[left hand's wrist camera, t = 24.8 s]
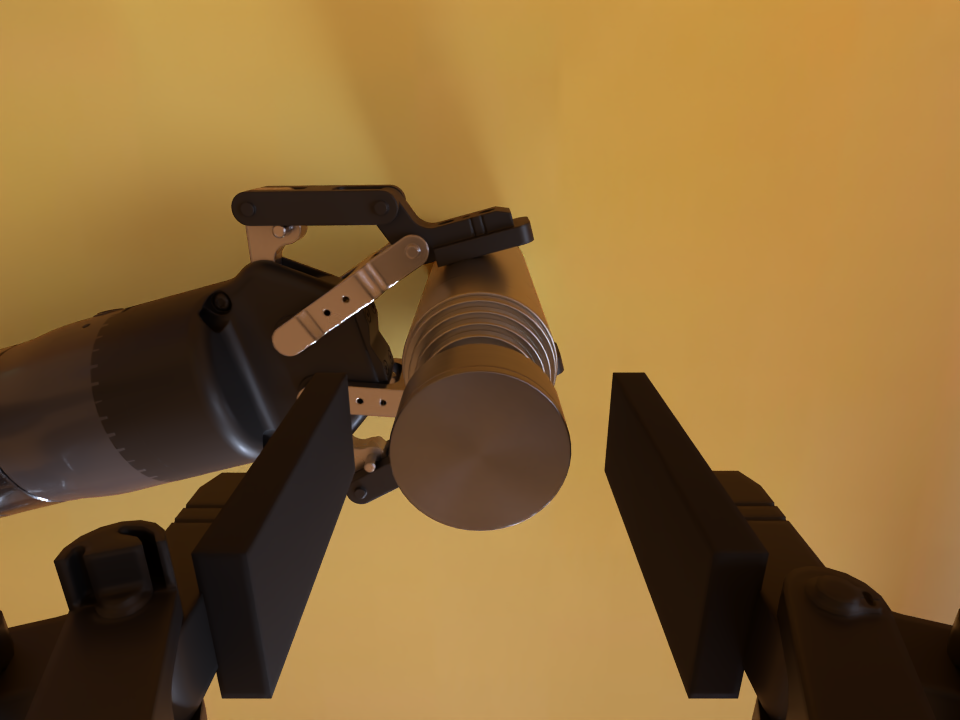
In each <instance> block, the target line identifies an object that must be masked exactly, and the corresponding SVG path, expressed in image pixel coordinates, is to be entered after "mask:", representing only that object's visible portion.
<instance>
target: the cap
mask: <svg viewBox="0 0 960 720" xmlns="http://www.w3.org/2000/svg"><path fill="white" fill-rule="evenodd" d="M570 459H571V441H570V435H569V431H568V428H567V424H566V421H565V418H564V414H563V411H562V408H561V404H560V401H559V398H558V395H557V392H556V390H555V388H554V386H553V384H552V382H551V380H550V379H549V377H548V376H547V375H546V373H545V372H544V371H543V370H542V369H541V368H540V367H539V366H538V365H537V364H536V363H534V362H533V361H532V360H531V359H529V358H528V357H526V356H524V355H523V354H521V353H519V352H517V351H514V350H512V349H509V348H506V347H503V346H498V345H493V344H467V345H462V346H457V347H454V348H451V349H448V350H445V351H443V352H441V353H439V354H437V355H435V356H434V357H432V358H431V359H429V360H428V361H427V362H425V363H424V364H423V365H422V366H421V367H420V368H419V369H418V370H417V371H416V372H415V373H414V374H413V376H412V377H411V379H410V380H409V382H408V383H407V385H406V387H405V389H404V391H403V394H402V397H401V401H400V404H399V407H398V411H397V414H396V417H395V421H394V424H393V428H392V431H391V434H390V441H389V460H390V466H391V470H392V473H393V476H394V478H395V480H396V483H397V485H398V486H399V488H400V490H401V491H402V493H403V494H404V495H405V497H406V498H407V499H408V500H409V501H410V503H412V504H413V505H414V506H415V507H416V508H417V509H418V510H419V511H421V512H422V513H424V514H425V515H426V516H428V517H430V518H432V519H434V520H435V521H437V522H440V523H442V524H445V525H447V526H451V527H455V528H458V529H464V530H474V531H486V530H495V529H501V528H505V527H509V526H512V525H515V524H518V523H520V522H522V521H524V520H526V519H528V518H530V517H532V516H533V515H535V514H536V513H538V512H539V511H540V510H542V509H543V508H544V507H545V506H546V505H547V504H548V503H549V502H550V501H551V500H552V499H553V498H554V496H555V495H556V494H557V493H558V491H559V489H560V488H561V486H562V485H563V482H564V480H565V478H566V476H567V473H568V469H569V466H570Z"/></svg>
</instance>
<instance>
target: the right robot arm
mask: <svg viewBox="0 0 960 720" xmlns="http://www.w3.org/2000/svg"><path fill="white" fill-rule="evenodd" d="M231 208H232V213H233V215H234V217H235V218H236V219H237V220H238V221H239V222H240V223H242V224H243V225H246V232H247V239H248V245H249V252H250V259H251V263H250V264H248V265H246V266H245V267H244V268H243V269H242V270H241V271H240V273H239V274H238V275H237V276H236V277H235V278H233V279H230V280H227V281H224V282H220V283H216V284H213V285H209V286H206V287H202V288H198V289H195V290H191V291H187V292H184V293H180V294H176V295H173V296H169V297H165V298H162V299H158V300H155V301H151V302H147V303H144V304H140V305H136V306H133V307H129V308H125V309H123V308H121V309H113V310H108V311H104V312H101V313H98V314H97V315H95V316H94V317H93V318H89V319H86V320H82V321H79V322H75V323H72V324H69V325H66V326H63V327H60V328H57V329H55V330H53V331H50V332H48V333H46V334H44V335H42V336H40V337H37V338H35V339H33V340H30V341H28V342H25V343H22V344H19V345H14V346H11V347H7V348H3V349H0V518H2V517H6V516H10V515H13V514H17V513H21V512H24V511H29V510H33V509H37V508H41V507H45V506H49V505H53V504H57V503H61V502H65V501H70V500H76V499H81V498H92V497H102V496H111V495H119V494H124V493H129V492H133V491H137V490H141V489H145V488H149V487H153V486H157V485H161V484H165V483H169V482H173V481H178V480H182V479H187V478H191V477H195V476H199V475H203V474H207V473H211V472H215V471H219V470H223V469H227V468H232V467H236V466H240V465H244V464H248V463H252V462H254V461H255V460H256V458H257V457H258V455H259V454H260V452H261V451H262V450H263V448H264V447H265V445H266V444H267V442H268V441H269V439H270V438H271V436H272V435H273V434H274V432H275V431H276V429H277V428H278V426H279V425H280V423H281V422H282V420H283V419H284V418H285V416H286V415H287V413H288V412H289V410H290V409H291V407H292V406H293V405H294V403H295V402H296V400H297V399H298V397H299V396H300V394H301V393H302V391H303V390H304V389H305V387H306V386H307V384H308V383H309V381H310V380H311V378H312V377H313V375H314V374H315V373H347V379H348V391H349V402H350V414H351V425H352V434H353V433H354V432H355V431H356V429H357V428H358V427H359V426H360V425H361V423H362V422H363V421H364V420H365V419H366V417H367V416H383V417H396V414H397V411H398V407H399V404H400V401H401V397H402V394H403V391H404V389H405V387H406V386H405V381H404V378H403V371H402V359H401V358H393V356H392V353H391V350H390V347H389V345H388V344H387V342H386V341H385V339H384V338H383V336H382V335H381V333H380V332H379V329H378V314H377V309H376V306H375V304H374V300H375V299H376V298H378V297H379V296H380V295H381V294H382V293H383V292H385V291H386V290H387V289H388V288H390V287H391V286H392V285H394V284H395V283H397V282H398V281H400V280H401V279H403V278H404V277H405V276H407V275H408V274H410V273H411V272H413V271H414V270H415V269H417V268H418V267H420V266H421V265H423V264H427V263H431V262H435V261H436V262H437V265H438V267H442V266H446V265H449V264H453V263H456V262H459V261H462V260H466V259H472V258H475V257H479V256H483V255H487V254H490V253H494V252H498V251H502V250H505V249H509V248H513V247H516V246H520V245H524V244H527V243H529V242H532V241H533V240H534V237H533V233H532V229H531V225H530V221H529V219H528V217H519V218H515V219H512V215H511V212H510V209H509V208H504V207H496V206H495V207H492V208H488V209H484V210H481V211H477V212H473V213H470V214H466V215H463V216H459V217H455V218H452V219H448V220H444V221H441V222H437V223H428V222H425V221H423V220H421V219H420V218H419V217H418V216H417V215H416V214H415V212H414V211H413V210H412V208H411V207H410V206H409V204H408V203H407V201H406V198H405V195H404V193H403V191H402V190H401V189H400V188H398V187H397V186H394V185H324V186H265V187H261V188H256V189H252V190H248V191H245V192H241V193H239V194H237V195H236V196H235V197H234V199H233V201H232V205H231ZM313 225H377V226H378V228H379V229H380V230H381V232H382V233H383V234H384V236H385V237H386V238H387V240H388V241H389V242H390V243H388V244H387V245H385V246H384V247H383V248H381V249H380V250H378V251H377V252H375V253H373V254H372V255H370V256H369V257H367V258H366V259H365V260H363V261H362V262H360V263H359V264H358V265H356V266H355V267H353V268H352V269H351V270H349V271H348V272H346V273H345V274H344V275H342V276H341V277H337V276H334V275H331V274H328V273H326V272H323V271H320V270H317V269H315V268H312V267H309V266H306V265H304V264H301V263H298V262H295V261H293V260H290V259H287V258H284V257H282V250H283V248H284V246H285V245H287V244H292V243H294V242H296V241H297V240H299V239H301V238H302V237H303V236H304V235H305V234H306V232H307V226H313ZM554 343H555V342H554ZM555 346H556V352H557V360H558V368H557V375H559V374H561V373H562V372H563V371H564V368H563V364H562V359H561V355H560V352H559V349H558V346H557V344H556V343H555ZM393 372H394V373H393ZM352 437H353V448H354V460H355V473H354V476H353V479H352V481H351V484H350V487H349V490H348V492H347V496H348V498H349V499H350V500H351V501H353V502H355V503H357V504H365V503H368V502H370V501H372V500H374V499H376V498H378V497H380V496H382V495H384V494H386V493H388V492H390V491H392V490H394V489H396V488H398V487H399V486H398V485H397V483H396V480H395V478H394V476H393V473H392V470H391V466H390V460H389V441H390V440H388V441H385V440H384V439H383V438H382V437H380V436H377V437H371V438H368V439H359V438H356V437H355V436H353V435H352Z"/></svg>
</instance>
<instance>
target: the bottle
mask: <svg viewBox="0 0 960 720" xmlns="http://www.w3.org/2000/svg"><path fill="white" fill-rule="evenodd" d="M467 344H493V345H498V346H503V347H506V348H509V349H512V350H514V351H517V352H519V353H521V354H523V355H524V356H526V357H528V358H529V359H531V360H532V361H533V362H534V363H536V364H537V365H538V366H539V367H540V368H541V369H542V370H543V371H544V372H545V373H546V375H547V376H548V377H549V379H550V380H551V382H552V384H553V386H554V385H555V380H556V376H557V368H558V360H557V352H556V346H555V343H554V340H553V337H552V335H551V332H550V329H549V326H548V323H547V321H546V318H545V315H544V312H543V309H542V307H541V304H540V301H539V298H538V295H537V293H536V290H535V287H534V284H533V281H532V279H531V276H530V273H529V270H528V267H527V265H526V262H525V259H524V256H523V254H522V252H521V251H520V249H519V248H518V246H516V247H513V248H509V249H505V250H502V251H498V252H494V253H490V254H487V255H483V256H479V257H475V258H472V259H466V260H462V261H459V262H456V263H453V264H449V265H446V266H442V267H438V265H437V262H436V261H435V262H434V264H433V266H432V269H431V272H430V275H429V278H428V280H427V283H426V286H425V289H424V292H423V295H422V297H421V300H420V303H419V306H418V309H417V311H416V314H415V317H414V320H413V323H412V325H411V328H410V331H409V334H408V337H407V339H406V343H405V346H404V350H403V357H402V371H403V378H404V381H405V386H406V385H407V383H408V382H409V380H410V379H411V377H412V376H413V374H414V373H415V372H416V371H417V370H418V369H419V368H420V367H421V366H422V365H423V364H424V363H425V362H427V361H428V360H429V359H431V358H432V357H434V356H435V355H437V354H439V353H441V352H443V351H445V350H448V349H451V348H454V347H457V346H462V345H467Z"/></svg>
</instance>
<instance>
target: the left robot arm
mask: <svg viewBox="0 0 960 720" xmlns="http://www.w3.org/2000/svg"><path fill="white" fill-rule="evenodd" d="M354 473H355V460H354V448H353V437H352V425H351V414H350V402H349V391H348V379H347V373H315V374H314V375H313V377H312V378H311V380H310V381H309V383H308V384H307V386H306V387H305V389H304V390H303V391H302V393H301V394H300V396H299V397H298V399H297V400H296V402H295V403H294V405H293V406H292V407H291V409H290V410H289V412H288V413H287V415H286V416H285V418H284V419H283V420H282V422H281V423H280V425H279V426H278V428H277V429H276V431H275V432H274V434H273V435H272V436H271V438H270V439H269V441H268V442H267V444H266V445H265V447H264V448H263V450H262V451H261V452H260V454H259V455H258V457H257V458H256V460H255V461H254V463H253V464H252V466H251V467H250V468H249V470H248V471H247V473H221V474H219V475H218V476H216V477H215V478H213V479H212V480H210V481H209V482H207V483H206V484H204V485H203V486H201V487H200V488H199V489H198V490H197V492H196V493H195V494H194V495H193V497H192V498H191V499H190V501H189V502H188V503H187V504H186V508H183V509H182V511H181V512H180V513H179V514H178V516H177V517H176V518H175V522H174V523H171V524H170V526H169V527H168V528H167V530H166V531H165V530H164V529H163V528H161V527H160V526H159V525H158V524H156V523H153V522H148V521H143V520H136V521H123V522H118V523H115V524H111V525H107V526H103V527H100V528H98V529H96V530H94V531H91V532H89V533H87V534H85V535H83V536H80V537H79V538H78V539H76V540H75V541H73V542H72V543H71V544H69V545H68V546H66V547H65V548H64V549H63V550H62V551H61V552H60V554H59V555H58V556H57V557H56V559H55V560H54V564H55V567H56V570H57V573H58V576H59V579H60V582H61V586H62V589H63V592H64V595H65V598H66V601H67V604H68V608H69V613H68V614H66V615H63V616H59V617H55V618H51V619H46V620H42V621H37V622H33V623H28V624H24V625H19V626H15V627H10V628H8V627H7V624H6V621H5V619H4V616H3V613H2V611H0V720H207V714H206V708H205V704H204V699H203V698H204V696H205V694H206V691H207V689H208V687H209V685H210V683H211V681H212V679H213V677H214V675H215V673H217V677H218V682H219V687H220V691H221V696H222V698H272V695H273V693H274V690H275V687H276V684H277V682H278V679H279V676H280V674H281V671H282V668H283V666H284V663H285V660H286V657H287V655H288V652H289V649H290V647H291V644H292V641H293V638H294V636H295V633H296V630H297V628H298V625H299V622H300V619H301V617H302V614H303V611H304V609H305V606H306V603H307V601H308V598H309V595H310V592H311V590H312V587H313V584H314V582H315V579H316V576H317V573H318V571H319V568H320V565H321V563H322V560H323V557H324V555H325V552H326V549H327V546H328V544H329V541H330V538H331V536H332V533H333V530H334V527H335V525H336V522H337V519H338V517H339V514H340V511H341V509H342V506H343V503H344V500H345V498H346V495H347V492H348V490H349V487H350V484H351V481H352V479H353V476H354ZM605 473H606V476H607V479H608V481H609V484H610V487H611V490H612V492H613V495H614V498H615V500H616V503H617V506H618V509H619V511H620V514H621V517H622V519H623V522H624V525H625V527H626V530H627V533H628V536H629V538H630V541H631V544H632V546H633V549H634V552H635V555H636V557H637V560H638V563H639V565H640V568H641V571H642V573H643V576H644V579H645V582H646V584H647V587H648V590H649V592H650V595H651V598H652V601H653V603H654V606H655V609H656V611H657V614H658V617H659V620H660V622H661V625H662V628H663V630H664V633H665V636H666V638H667V641H668V644H669V647H670V649H671V652H672V655H673V657H674V660H675V663H676V666H677V668H678V671H679V674H680V676H681V679H682V682H683V684H684V687H685V690H686V693H687V695H688V698H738V696H739V691H740V687H741V682H742V677H743V673H744V670H745V672H746V674H747V676H748V678H749V680H750V682H751V684H752V686H753V688H754V691H755V693H756V695H757V699H756V704H755V708H754V712H753V717H752V720H960V609H959V611H958V613H957V616H956V619H955V621H954V624H953V626H952V625H948V624H943V623H939V622H934V621H930V620H925V619H921V618H916V617H912V616H907V615H903V614H899V613H896V612H892V611H891V609H890V608H889V607H888V605H887V604H886V602H885V601H884V599H883V598H882V596H881V595H879V594H878V593H877V592H876V591H874V590H873V589H872V588H871V587H869V586H868V585H867V584H866V583H864V582H862V581H860V580H858V579H856V578H854V577H852V576H850V575H848V574H846V573H843V572H840V571H837V570H833V569H830V568H827V567H825V566H824V565H823V563H822V562H821V561H820V560H819V558H818V557H817V556H816V554H815V553H814V552H813V551H812V549H811V548H810V547H809V546H808V544H807V543H806V542H805V541H804V539H803V538H802V537H801V536H800V534H799V533H798V532H797V531H796V529H795V528H794V527H793V526H792V524H791V523H790V522H789V521H786V517H785V516H784V514H783V513H782V512H781V511H780V509H779V508H778V507H777V506H774V502H773V501H772V499H771V498H770V497H769V496H768V494H767V493H766V492H765V491H764V489H763V488H762V487H761V486H760V485H759V484H757V483H756V482H754V481H753V480H751V479H750V478H748V477H747V476H745V475H744V474H742V473H741V472H739V471H712V470H711V468H710V467H709V466H708V464H707V463H706V461H705V460H704V458H703V457H702V455H701V454H700V452H699V451H698V450H697V448H696V447H695V445H694V444H693V442H692V441H691V439H690V438H689V436H688V435H687V434H686V432H685V431H684V429H683V428H682V426H681V425H680V423H679V422H678V420H677V419H676V418H675V416H674V415H673V413H672V412H671V410H670V409H669V407H668V406H667V405H666V403H665V402H664V400H663V399H662V397H661V396H660V394H659V393H658V391H657V390H656V389H655V387H654V386H653V384H652V383H651V381H650V380H649V378H648V377H647V375H646V374H645V373H613V379H612V391H611V402H610V414H609V425H608V437H607V448H606V459H605Z"/></svg>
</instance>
